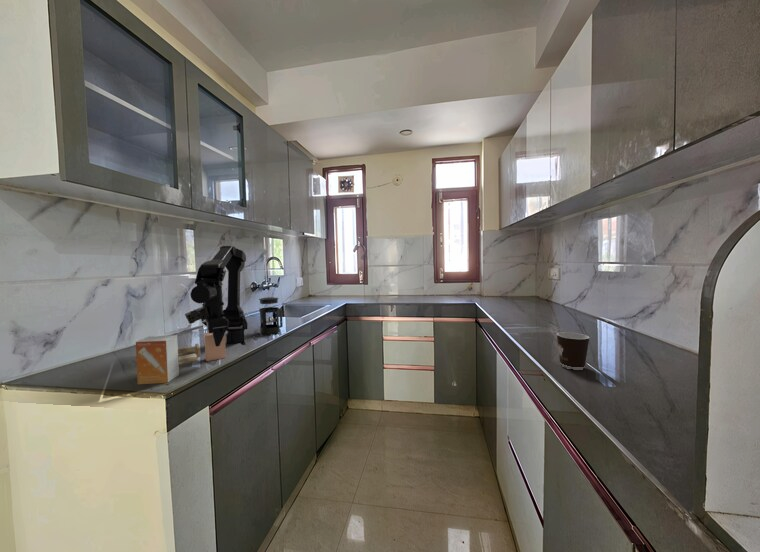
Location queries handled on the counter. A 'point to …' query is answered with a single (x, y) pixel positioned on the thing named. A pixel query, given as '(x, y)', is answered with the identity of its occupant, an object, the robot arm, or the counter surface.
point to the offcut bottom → (189, 362)
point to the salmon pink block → (214, 348)
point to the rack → (190, 350)
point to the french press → (271, 327)
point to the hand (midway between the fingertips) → (215, 343)
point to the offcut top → (187, 358)
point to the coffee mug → (572, 348)
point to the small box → (157, 359)
